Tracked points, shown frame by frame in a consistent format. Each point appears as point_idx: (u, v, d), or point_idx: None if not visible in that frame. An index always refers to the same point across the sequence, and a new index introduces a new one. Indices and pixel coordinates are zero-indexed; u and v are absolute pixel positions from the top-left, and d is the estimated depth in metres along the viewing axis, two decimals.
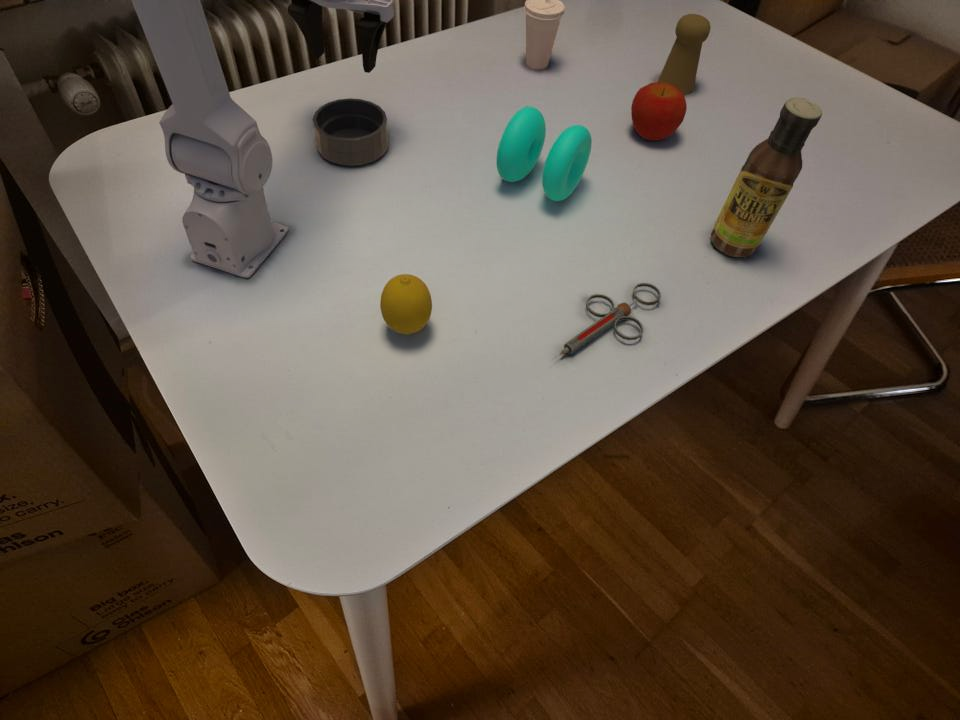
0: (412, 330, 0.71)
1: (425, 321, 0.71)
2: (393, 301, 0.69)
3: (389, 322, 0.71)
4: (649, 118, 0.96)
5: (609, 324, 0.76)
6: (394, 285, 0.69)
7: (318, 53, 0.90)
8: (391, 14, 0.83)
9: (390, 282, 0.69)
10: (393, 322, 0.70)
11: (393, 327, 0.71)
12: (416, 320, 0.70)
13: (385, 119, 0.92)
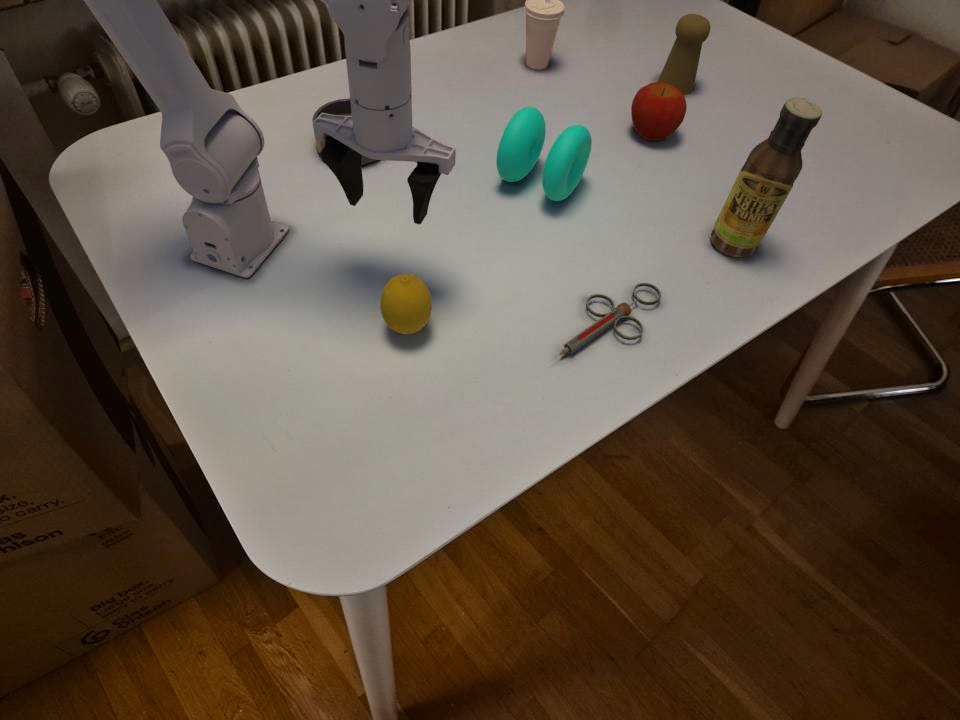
0: (412, 330, 0.71)
1: (425, 321, 0.71)
2: (393, 301, 0.69)
3: (389, 322, 0.71)
4: (649, 118, 0.96)
5: (609, 324, 0.76)
6: (394, 285, 0.69)
7: (356, 198, 0.72)
8: (452, 164, 0.65)
9: (390, 282, 0.69)
10: (393, 322, 0.70)
11: (393, 327, 0.71)
12: (416, 320, 0.70)
13: None
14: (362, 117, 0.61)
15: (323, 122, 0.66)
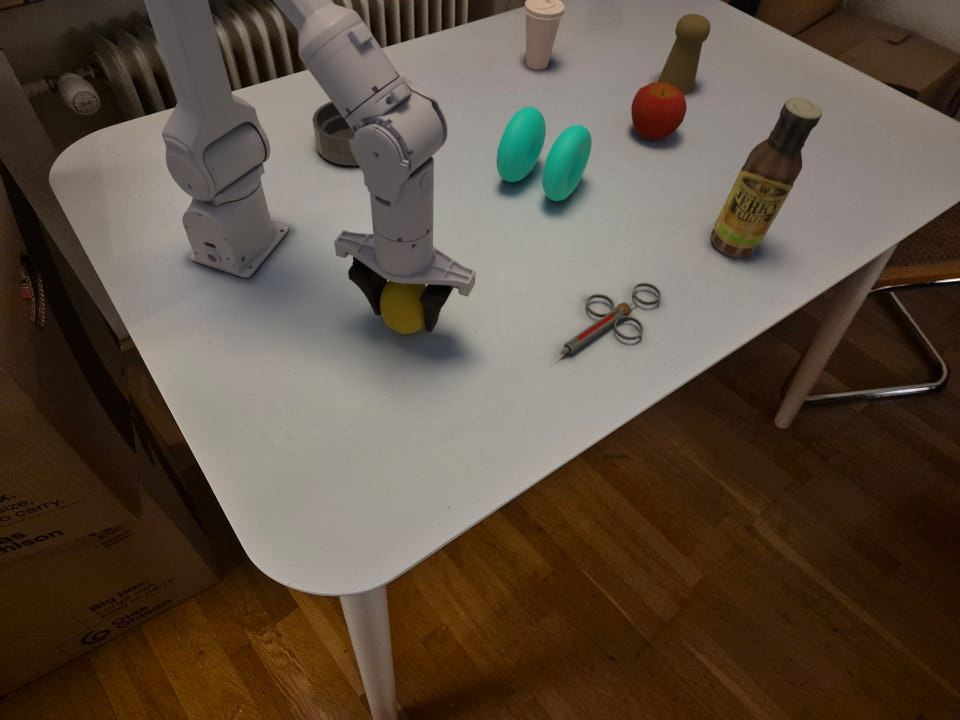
0: (411, 330, 0.71)
1: None
2: (393, 301, 0.69)
3: (389, 322, 0.71)
4: (649, 118, 0.96)
5: (609, 324, 0.76)
6: (394, 285, 0.69)
7: None
8: (472, 285, 0.66)
9: (390, 282, 0.69)
10: (393, 322, 0.70)
11: (393, 327, 0.71)
12: (415, 320, 0.70)
13: None
14: (384, 246, 0.62)
15: (344, 240, 0.67)
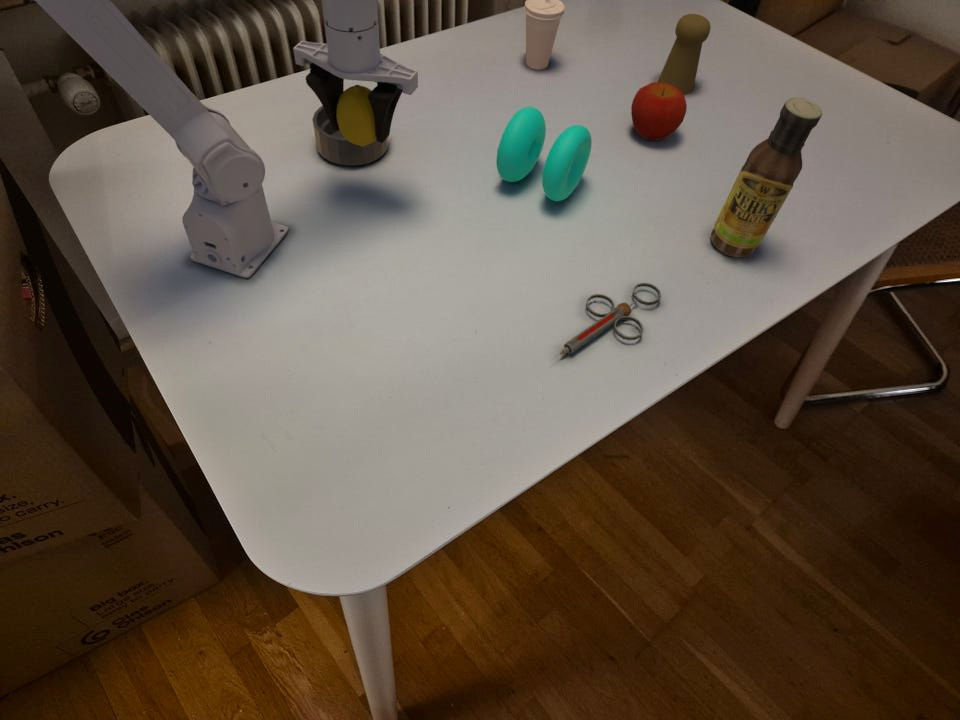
0: (364, 138, 0.79)
1: None
2: (346, 106, 0.77)
3: (344, 130, 0.79)
4: (649, 118, 0.96)
5: (609, 324, 0.76)
6: (348, 92, 0.77)
7: None
8: (415, 85, 0.74)
9: (344, 91, 0.78)
10: (347, 129, 0.78)
11: (348, 135, 0.79)
12: (367, 127, 0.78)
13: None
14: (334, 39, 0.70)
15: (302, 48, 0.75)
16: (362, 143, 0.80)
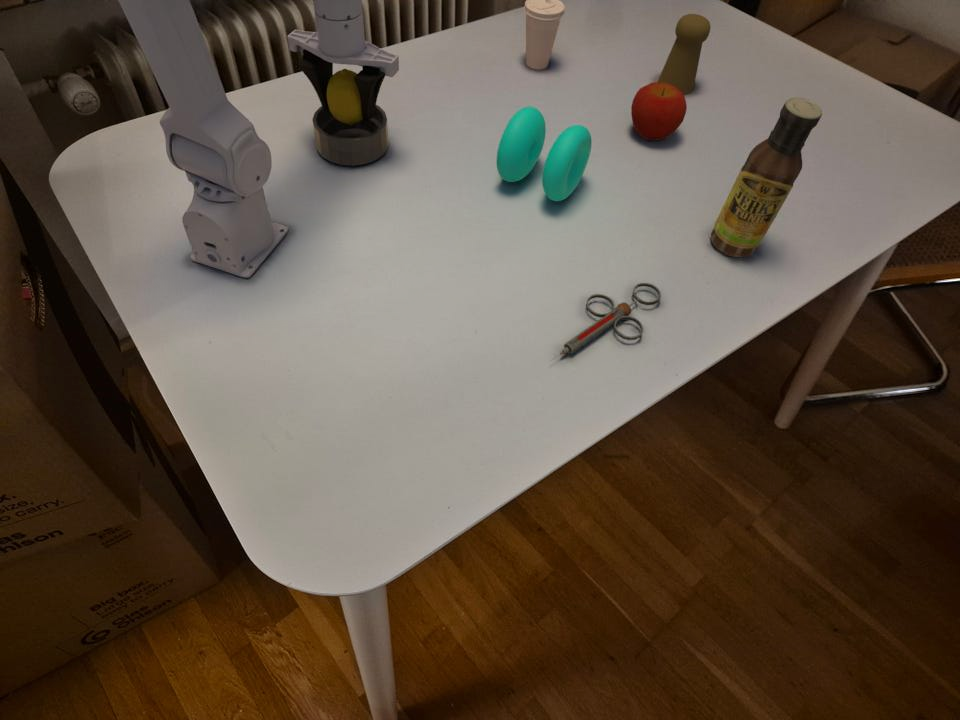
0: (352, 117, 0.89)
1: None
2: (335, 88, 0.86)
3: (333, 109, 0.88)
4: (649, 118, 0.96)
5: (609, 324, 0.76)
6: (336, 75, 0.86)
7: None
8: (396, 69, 0.83)
9: None
10: (336, 108, 0.88)
11: (337, 114, 0.88)
12: (354, 106, 0.87)
13: (385, 119, 0.92)
14: (323, 27, 0.79)
15: (295, 36, 0.85)
16: (350, 122, 0.89)
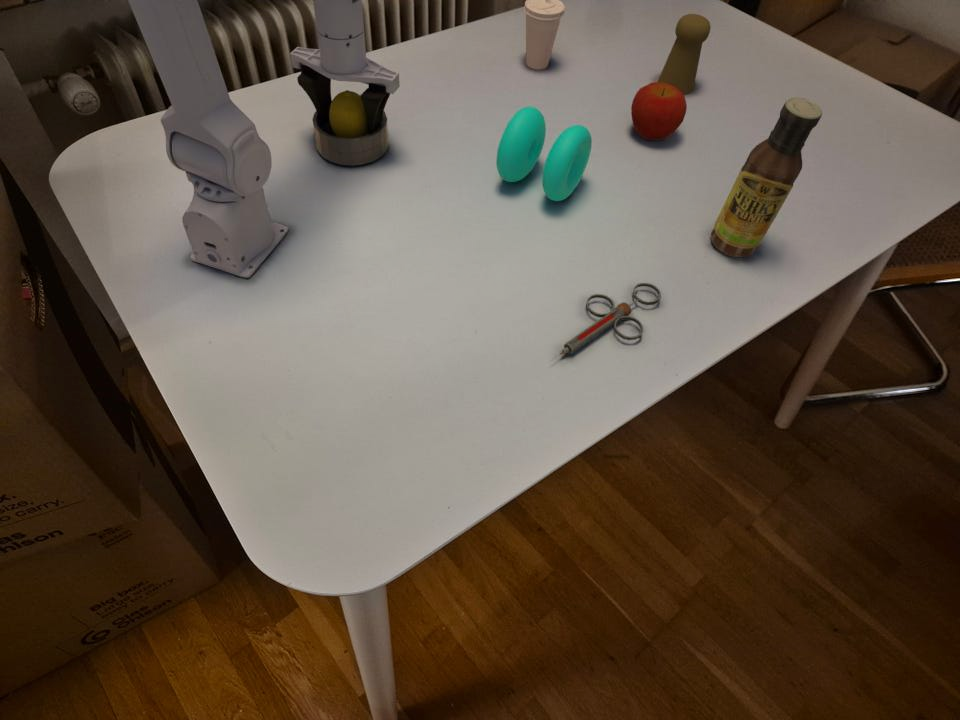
0: (354, 136, 0.91)
1: (364, 130, 0.91)
2: (338, 109, 0.88)
3: (336, 129, 0.90)
4: (649, 118, 0.96)
5: (609, 324, 0.76)
6: (339, 96, 0.88)
7: (326, 118, 0.92)
8: (397, 86, 0.85)
9: (336, 95, 0.89)
10: (339, 129, 0.90)
11: (339, 134, 0.91)
12: (356, 127, 0.90)
13: (385, 119, 0.92)
14: (325, 45, 0.81)
15: (298, 53, 0.86)
16: None
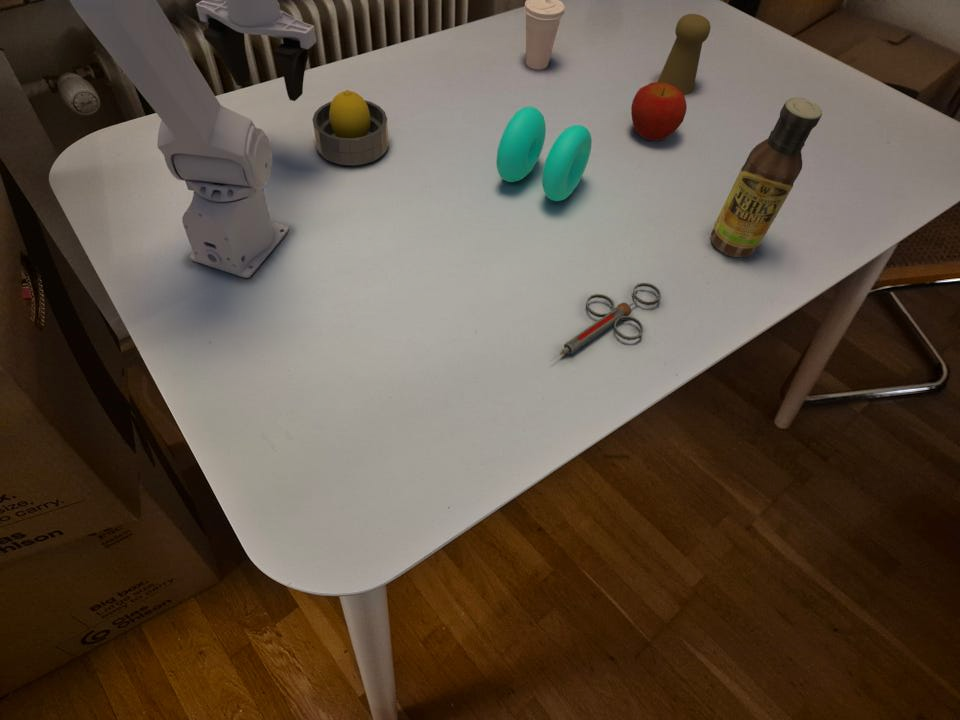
0: (354, 136, 0.91)
1: (364, 130, 0.91)
2: (338, 109, 0.88)
3: (336, 129, 0.90)
4: (649, 118, 0.96)
5: (609, 324, 0.76)
6: (339, 96, 0.88)
7: (242, 79, 0.84)
8: (312, 40, 0.77)
9: (336, 95, 0.89)
10: (339, 129, 0.90)
11: (339, 134, 0.91)
12: (356, 127, 0.90)
13: (385, 119, 0.92)
14: None
15: (205, 5, 0.78)
16: None
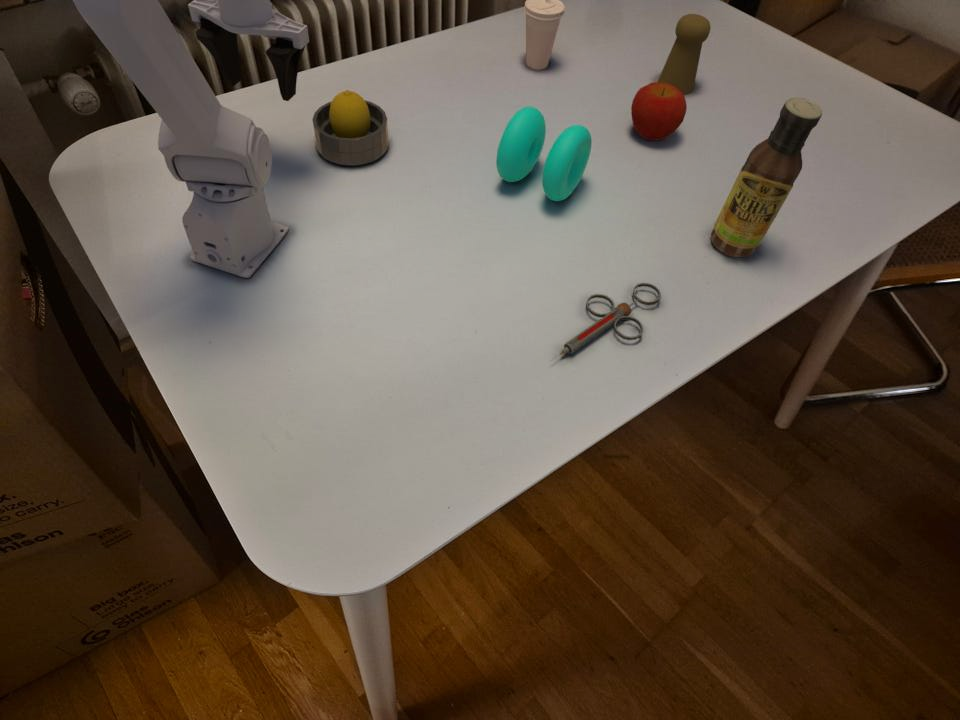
0: (354, 136, 0.91)
1: (364, 130, 0.91)
2: (338, 109, 0.88)
3: (336, 129, 0.90)
4: (649, 118, 0.96)
5: (609, 324, 0.76)
6: (339, 96, 0.88)
7: (234, 79, 0.84)
8: (305, 40, 0.77)
9: (336, 95, 0.89)
10: (339, 129, 0.90)
11: (339, 134, 0.91)
12: (356, 127, 0.90)
13: (385, 119, 0.92)
14: None
15: (197, 5, 0.78)
16: None
